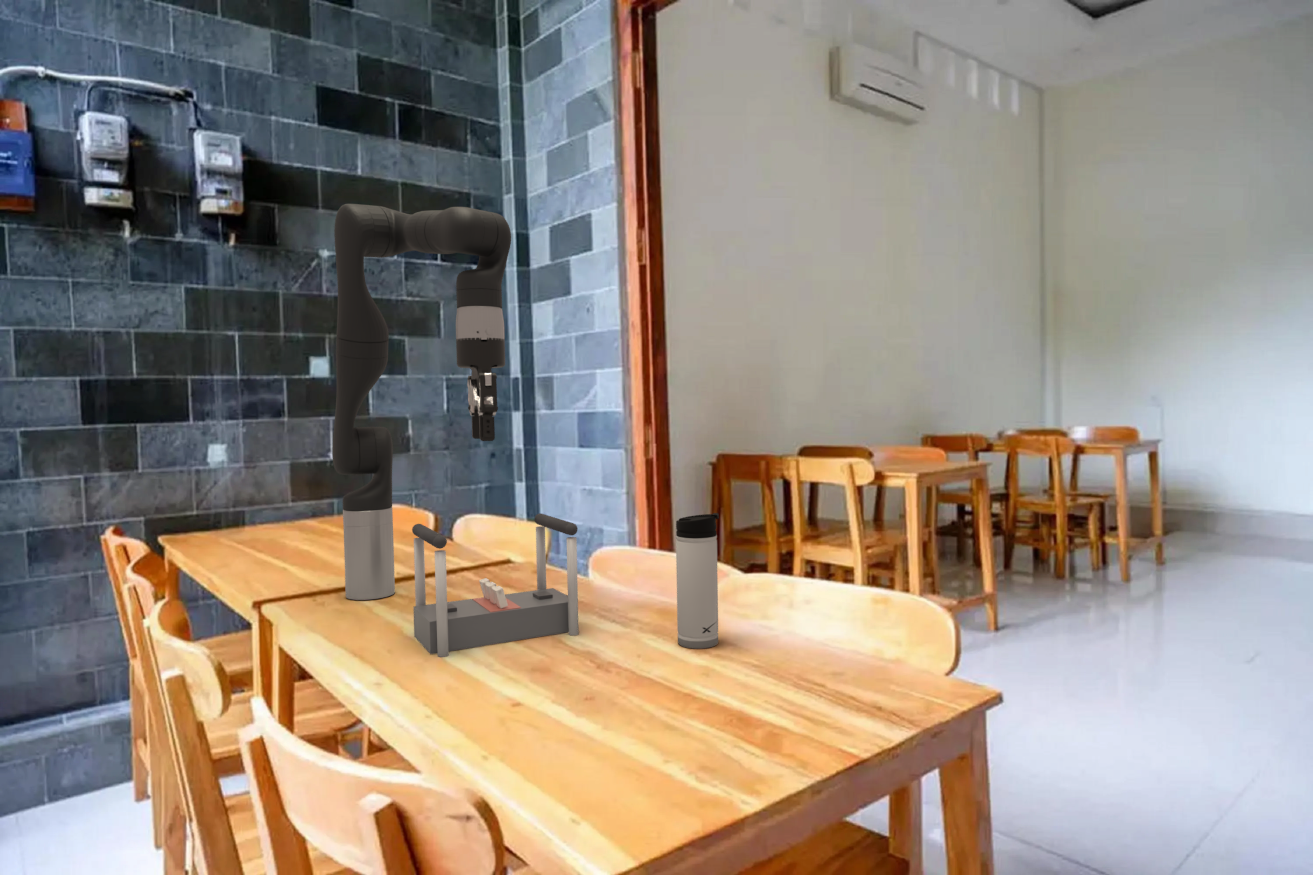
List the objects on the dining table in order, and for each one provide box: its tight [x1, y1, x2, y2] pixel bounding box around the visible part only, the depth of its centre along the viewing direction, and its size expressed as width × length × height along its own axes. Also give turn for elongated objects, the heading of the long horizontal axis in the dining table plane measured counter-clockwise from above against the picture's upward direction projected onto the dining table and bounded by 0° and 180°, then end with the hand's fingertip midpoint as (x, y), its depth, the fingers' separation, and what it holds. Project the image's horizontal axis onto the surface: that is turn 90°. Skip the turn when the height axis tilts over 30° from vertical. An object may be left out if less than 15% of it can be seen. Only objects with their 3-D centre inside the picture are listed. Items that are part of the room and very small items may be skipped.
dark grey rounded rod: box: [411, 523, 448, 550], centre depth 127 cm, size 16×2×2 cm, turn 29°
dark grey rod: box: [534, 513, 578, 536], centre depth 137 cm, size 16×2×2 cm, turn 29°
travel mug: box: [675, 512, 720, 650], centre depth 125 cm, size 6×7×20 cm
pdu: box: [412, 525, 580, 658], centre depth 132 cm, size 16×24×16 cm, turn 119°
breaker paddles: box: [478, 577, 508, 608], centre depth 132 cm, size 9×1×3 cm, turn 29°
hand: (483, 439), depth 130 cm, fingers open, 8 cm apart
